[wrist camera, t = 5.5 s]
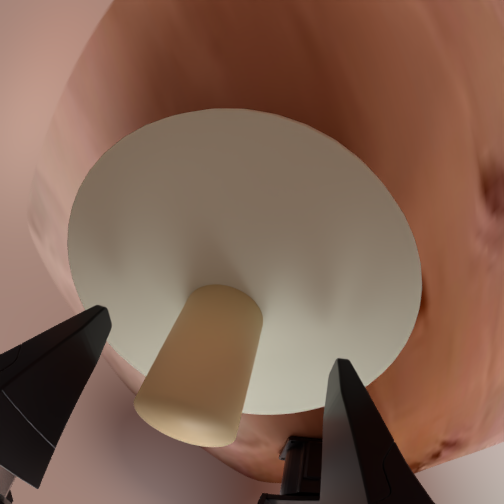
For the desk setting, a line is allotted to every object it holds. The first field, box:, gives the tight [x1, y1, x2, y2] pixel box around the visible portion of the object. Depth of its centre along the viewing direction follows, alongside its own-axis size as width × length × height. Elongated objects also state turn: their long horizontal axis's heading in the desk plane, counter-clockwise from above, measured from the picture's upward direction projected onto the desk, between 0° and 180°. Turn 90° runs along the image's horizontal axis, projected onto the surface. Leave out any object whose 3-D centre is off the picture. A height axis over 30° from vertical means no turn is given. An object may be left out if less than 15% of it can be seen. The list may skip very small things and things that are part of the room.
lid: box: [67, 108, 422, 447], centre depth 10 cm, size 14×14×7 cm
